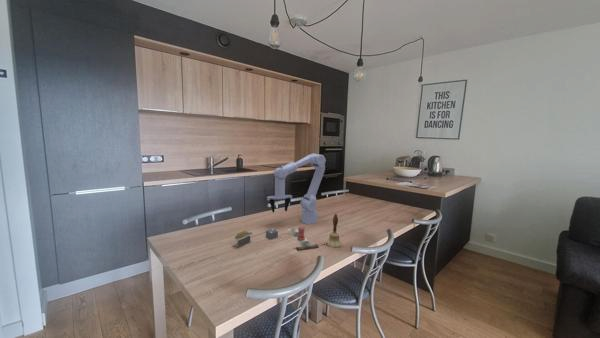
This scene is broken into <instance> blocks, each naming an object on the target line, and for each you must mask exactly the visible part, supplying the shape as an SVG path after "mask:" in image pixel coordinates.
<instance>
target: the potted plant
mask: <svg viewBox="0 0 600 338" xmlns="http://www.w3.org/2000/svg"><path fill="white" fill-rule="evenodd" d="M252 235H253V232H249V231H246V230H243V231H240V232H238V233H236V235H235V236H234V239H235V241H237V248H240V247H242V246H243V245H246V244H248V243H251V236H252Z"/></svg>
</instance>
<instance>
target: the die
mask: <svg viewBox="0 0 600 338" xmlns="http://www.w3.org/2000/svg"><path fill="white" fill-rule="evenodd" d="M278 234H279V231H278V230H277V229H274V228H272V229H267V230H266V231H265V237H266V238H267V239H269V240H270V241H271V240H275V239H277V238H278V236H279V235H278Z"/></svg>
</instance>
